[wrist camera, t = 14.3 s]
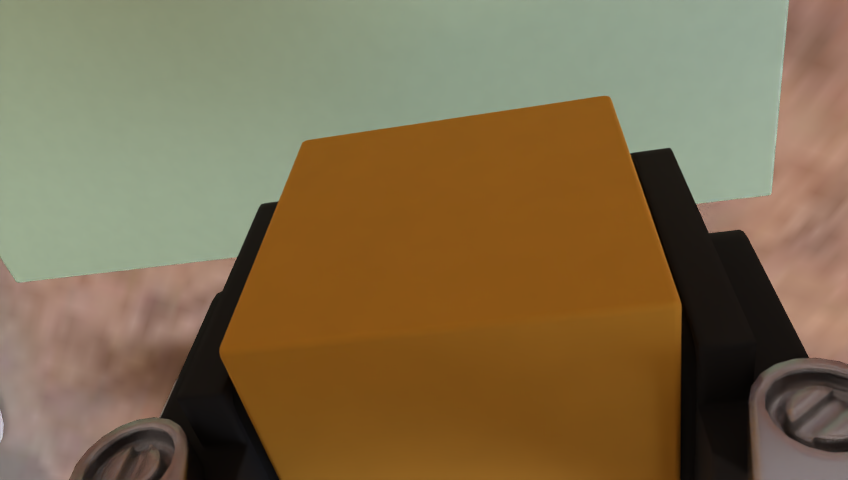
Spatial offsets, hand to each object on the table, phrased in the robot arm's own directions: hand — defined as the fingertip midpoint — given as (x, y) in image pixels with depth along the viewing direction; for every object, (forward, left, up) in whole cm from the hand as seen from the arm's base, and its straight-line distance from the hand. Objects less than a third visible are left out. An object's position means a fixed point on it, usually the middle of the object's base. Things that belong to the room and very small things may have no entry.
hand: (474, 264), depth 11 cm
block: (0, 0, -1) cm, 1 cm away
